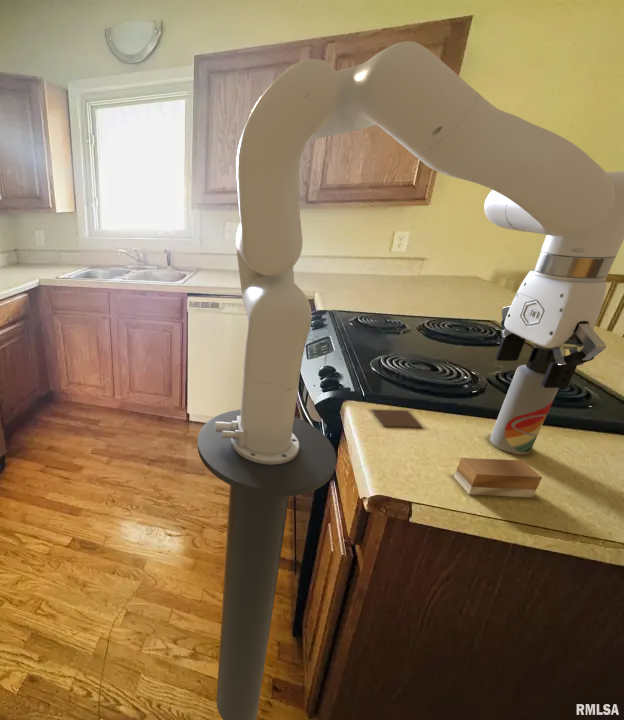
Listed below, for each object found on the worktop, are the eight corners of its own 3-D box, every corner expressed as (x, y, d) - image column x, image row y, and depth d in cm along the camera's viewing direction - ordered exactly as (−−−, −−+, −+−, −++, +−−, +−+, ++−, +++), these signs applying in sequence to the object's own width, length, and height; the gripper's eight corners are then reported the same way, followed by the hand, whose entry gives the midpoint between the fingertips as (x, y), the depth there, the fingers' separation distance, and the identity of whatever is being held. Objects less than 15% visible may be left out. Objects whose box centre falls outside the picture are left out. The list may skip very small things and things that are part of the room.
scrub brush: (468, 494, 62) (476, 474, 60) (453, 477, 65) (460, 457, 64) (532, 497, 60) (542, 477, 59) (513, 479, 64) (522, 460, 62)
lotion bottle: (533, 458, 68) (581, 353, 60) (491, 449, 71) (532, 347, 63) (526, 441, 73) (570, 341, 64) (486, 433, 76) (524, 336, 67)
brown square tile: (383, 426, 79) (384, 425, 79) (371, 410, 84) (371, 409, 84) (421, 427, 78) (421, 426, 78) (406, 411, 83) (407, 410, 83)
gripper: (499, 256, 65) (468, 351, 72) (599, 280, 49) (546, 399, 56) (550, 255, 64) (513, 351, 71) (667, 279, 48) (605, 400, 55)
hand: (528, 372), depth 64 cm, fingers open, 9 cm apart
